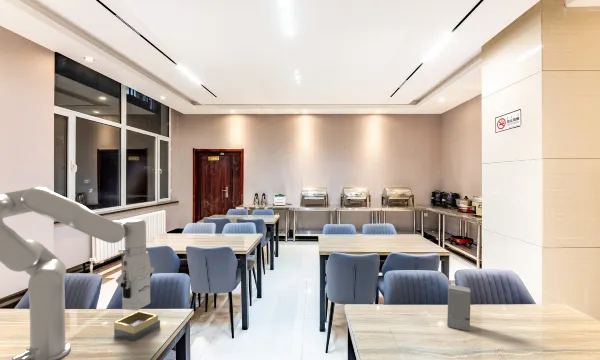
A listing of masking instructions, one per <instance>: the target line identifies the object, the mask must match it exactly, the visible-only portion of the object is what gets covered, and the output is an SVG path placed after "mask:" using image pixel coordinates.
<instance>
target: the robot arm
mask: <svg viewBox="0 0 600 360" xmlns="http://www.w3.org/2000/svg"><path fill="white" fill-rule="evenodd" d="M32 212H33V213H35V214H37V215H41V216H43V217H46V218H48V219H51V220H53V221H56V222H59V223H60V224H63V225H65V226H67V227H70V228H72V229H74V230H77V231H79V232H81V233H84V234H86V235H88V236H90V237H93V238H95V239H98V240H100V241H103V242H106V243H110V244H117V243H119V242H121V241H122V240H123V239H124V250H123V251H122V254H123V259H122V265H121V274H120V275H119V276H118V277H117V279H115V282H116V283H117V285H118V286H119V287H121V289H122V288H123V297H124V298H128V299H129V298H130V297H131V296H130V288H129V286H130V284H131V282H134V281H135V278H137V277H140V276H143V275H146V274H149V273H150V280H151V277H152V276H153V274H154V271H155V267H153V266H151V259H150V254H149V251H147V224H146V223H147V222H146V221H145V220H144V219H141V218H137V219H136V218H135V219H129V220H118V219H117V220H115V219H113V220H111V219H109V218H107V217H104V216H102V215H99V214H98V213H96V212H94V211H92V210H91V209H89V208H88V207H87V206H86V205H83V204H82V203H80V202H78V201H75V200H72V199H70V198H68V197H66V196H63V195H61V194H60V193H56V192H54V191H53V190H51V189H50V188H49V187H46V186H33V187H31V188H27V189H21V190H15V191H10V192H4V193H3V192H2V193H0V263H1V264H2V265H4V267H6V268H8V269H9V270H11V271H13V272H17V273H19V272H21V273H22V272H25V273H26V274H28V275H29V276H30V277H29V279H28V282H27V283H28V284H27V290H28V291H27V293H28V300H29V340H30V341H29V342H30V343H29V344H30V345H29V346H27V347H26V350H25V351H23V353H21V354H18V355H15V356H13V357H11V360H59V359H61V358H63V357H64V356H66V355H67V354H68V353H69V352H70V351H71V350H72V349H71V348H72V345H71V343H69V342H66V297H65V295H66V293H65V283H66V282H65V279H66V274H67V266H66V264H65V263H64V262H63V261H62V259H60V258H59V257H58V256H56V255H55V254H54V253H53V252H51V251H50V250H49V249H48V248H47V247H46V246H44V244H42V243H40V242H39V241H37V240H34V239H31V238H30V239H24V238H23V237H22V236H20V235H19V234H18V233H17V232H16V231H15V230H14V229H12V228H11V227H9V226H8V225H6V223H5V221H4V219H5V218H9V217H14V216H19V215H23V214H26V213H32ZM124 278H125V279H124ZM126 278H127V280H126ZM122 280H123V281H124V282H122ZM126 281H127V284H126Z"/></svg>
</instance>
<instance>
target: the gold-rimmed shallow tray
mask: <svg viewBox="0 0 600 360" xmlns="http://www.w3.org/2000/svg"><path fill="white" fill-rule="evenodd" d="M113 323H114V324H113V329H114V330H113V331H114V332H113V335H114V338H115V337H116V338H120V339H123V340H127V341H131V342H137V341H138V340H140V339H141V338H144V337H145V336H147V335H149V334H151V333H153V332H154V331H156V330H158V329H159V328H161V320H160V319H159V315H158V314H154V313H149V312H145V311H140V310H136V311H135V312H133V313H131V314H129V315H126V316H125V317H123V318H121V319H120V318H119V319H117V320H116V321H114V322H113Z"/></svg>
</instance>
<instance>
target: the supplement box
mask: <svg viewBox="0 0 600 360" xmlns="http://www.w3.org/2000/svg"><path fill="white" fill-rule="evenodd" d="M124 279H125V278H124ZM126 280H127V278H126ZM122 282H124V281H123V280H122ZM126 284H127V281H126ZM129 288H130V296H131V297H130V298H129V299H128V298H124V297H123V288H121V293H122V294H121V295H122V296H121V301H122V310H128V311H140V309H141V310H142V308H144V307H145V306H146V307H147V305H150V304H151V279H150V273H149V274H146V275H143V276H140V277H137V278H135V281H134V282H131V284H130V286H129Z"/></svg>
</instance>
